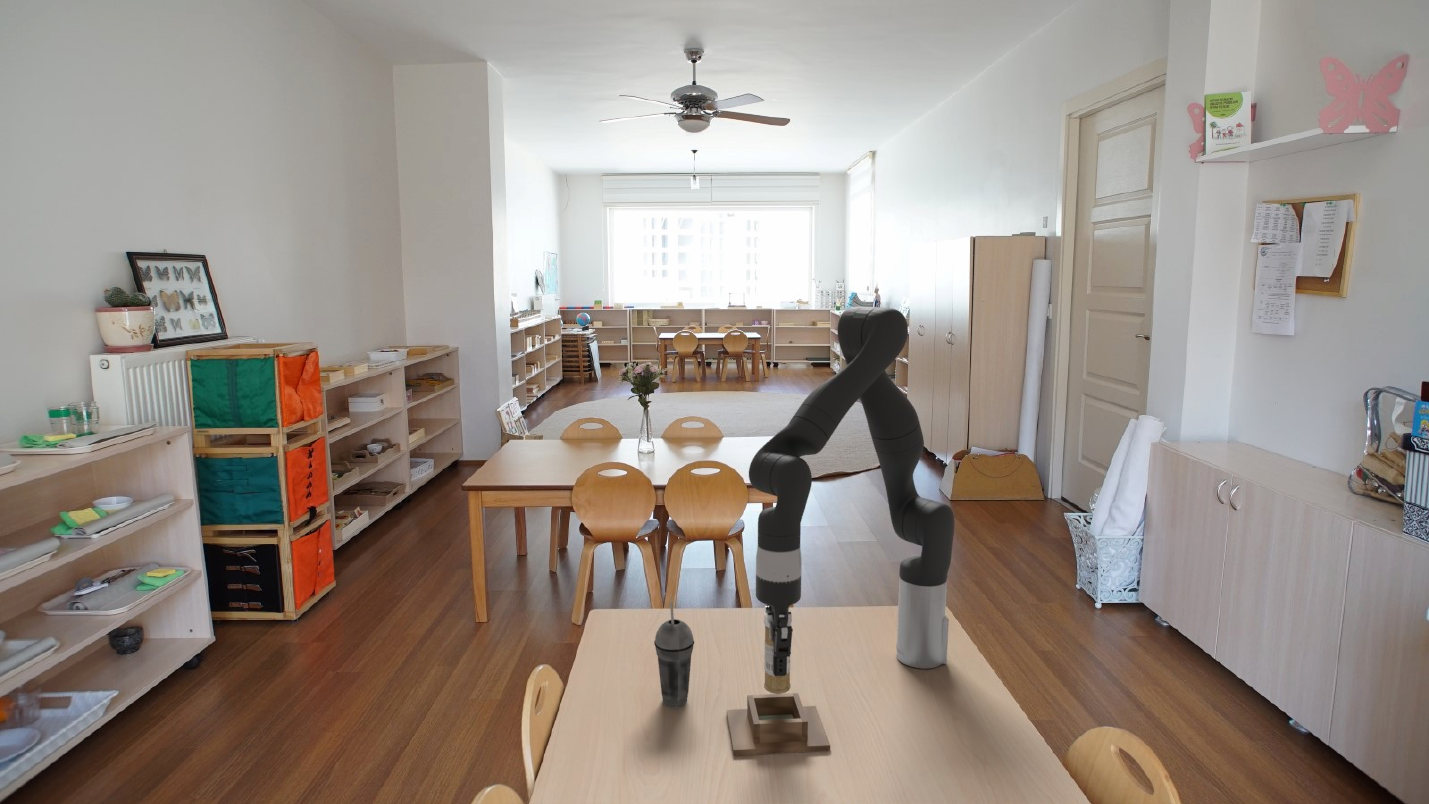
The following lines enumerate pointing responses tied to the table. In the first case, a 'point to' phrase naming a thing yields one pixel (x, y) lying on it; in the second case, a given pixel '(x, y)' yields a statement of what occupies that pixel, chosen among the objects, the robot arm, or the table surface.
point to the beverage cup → (674, 660)
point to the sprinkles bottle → (772, 682)
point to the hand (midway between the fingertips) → (777, 667)
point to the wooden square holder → (776, 726)
